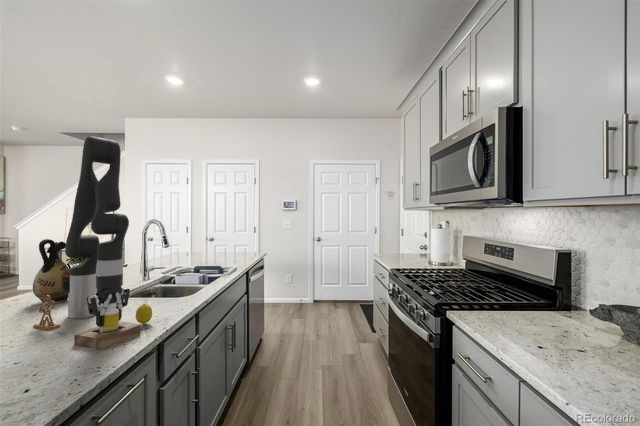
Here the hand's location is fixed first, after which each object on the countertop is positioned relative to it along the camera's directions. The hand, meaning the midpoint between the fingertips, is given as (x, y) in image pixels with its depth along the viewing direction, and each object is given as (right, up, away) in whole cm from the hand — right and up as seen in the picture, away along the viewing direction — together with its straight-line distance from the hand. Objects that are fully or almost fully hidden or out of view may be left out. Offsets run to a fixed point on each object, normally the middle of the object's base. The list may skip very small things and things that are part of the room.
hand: (109, 323), depth 106 cm
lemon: (+4, -6, +15) cm, 16 cm away
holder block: (0, -5, 0) cm, 5 cm away
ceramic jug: (-55, -5, +43) cm, 70 cm away
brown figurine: (-30, -5, +11) cm, 33 cm away
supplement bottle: (0, -3, 0) cm, 3 cm away
